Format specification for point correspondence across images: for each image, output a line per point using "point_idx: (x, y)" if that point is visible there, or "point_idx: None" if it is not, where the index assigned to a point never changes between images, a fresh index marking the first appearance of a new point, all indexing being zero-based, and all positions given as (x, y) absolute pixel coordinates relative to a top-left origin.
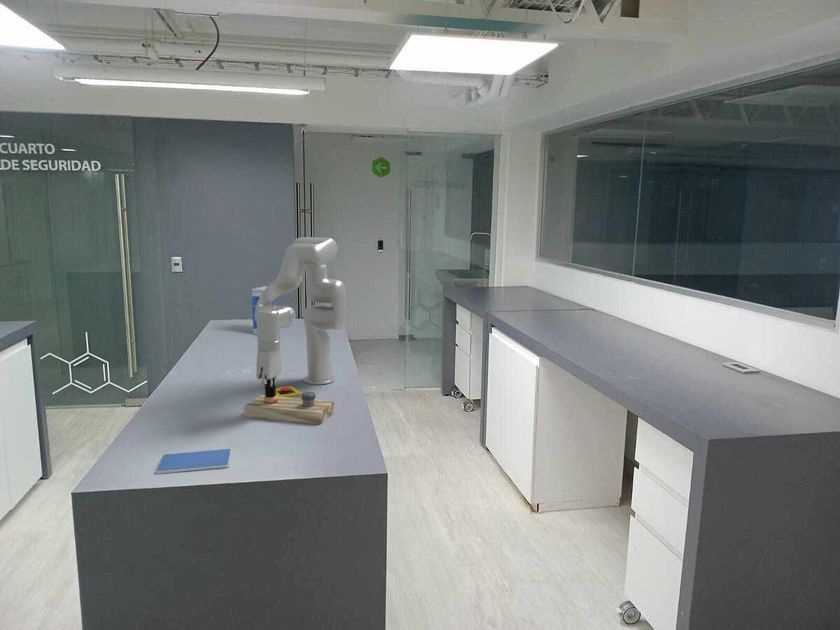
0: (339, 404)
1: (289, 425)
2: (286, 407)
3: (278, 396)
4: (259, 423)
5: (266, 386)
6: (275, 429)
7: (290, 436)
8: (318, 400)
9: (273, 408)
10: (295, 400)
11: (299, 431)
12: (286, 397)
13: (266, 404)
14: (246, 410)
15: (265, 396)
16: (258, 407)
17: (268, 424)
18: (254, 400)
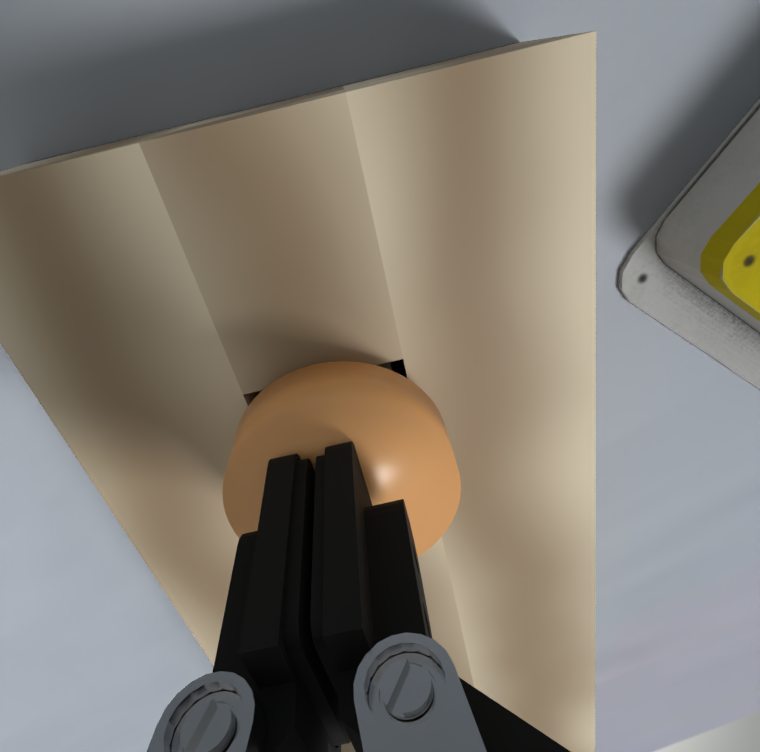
0: (734, 644)
1: (179, 640)
2: None
3: (746, 236)
4: (26, 454)
5: (212, 706)
6: (42, 621)
7: (36, 732)
8: (582, 724)
9: (166, 592)
10: (514, 608)
11: (140, 724)
12: (591, 481)
13: (216, 458)
14: None
15: (294, 433)
16: (67, 431)
17: (75, 527)
18: (251, 156)
